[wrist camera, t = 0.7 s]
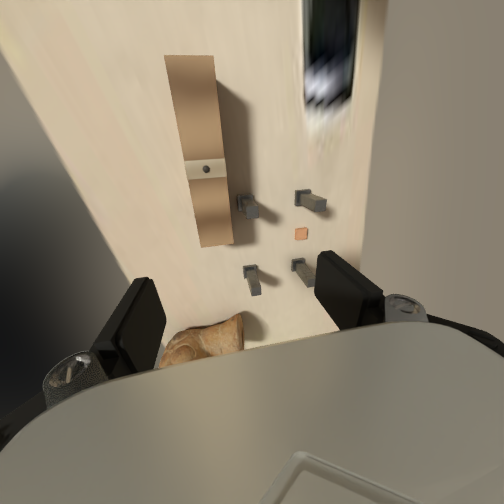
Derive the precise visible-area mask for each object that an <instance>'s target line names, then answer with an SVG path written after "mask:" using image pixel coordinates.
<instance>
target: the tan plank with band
mask: <svg viewBox="0 0 504 504" xmlns="http://www.w3.org/2000/svg"><path fill="white" fill-rule="evenodd" d="M164 59H165V64H166V69H167V74H168V79H169V84H170V90H171V95H172V100H173V105H174V110H175V115H176V121H177V126H178V131H179V136H180V141H181V146H182V151H183V157H184V164H185V170H186V175H187V180H188V182H189V188H190V193H191V198H192V203H193V208H194V213H195V219H196V224H197V229H198V234H199V239H200V244H201V248H202V247H210V246H218V245H226V244H234V241H233V232H232V222H231V213H230V204H229V195H228V186H227V172H226V163H225V158H224V149H223V140H222V131H221V121H220V112H219V103H218V94H217V85H216V75H215V66H214V57H213V56H192V55H164Z"/></svg>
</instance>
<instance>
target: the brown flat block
mask: <svg viewBox="0 0 504 504" xmlns="http://www.w3.org/2000/svg"><path fill="white" fill-rule="evenodd" d="M302 239H307V228H297V229H295V240H302Z"/></svg>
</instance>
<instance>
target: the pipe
mask: <svg viewBox="0 0 504 504" xmlns="http://www.w3.org/2000/svg"><path fill="white" fill-rule="evenodd" d="M241 350H244V329H243V323H242V318H241V315H240V314H236V315H234V316H233V317H231V318H230V319H229V320H227V321H225V322H224V323H222V324H217V325H213V326H210V327H207V328H205V329H189V330H185V331H180V332H178V333H177V334H175V336H174V337H173V338H172V339H171V340H170V341H169V343H168V344H167V346H166V348H165V351H164V354H163V356H162V358H161V361H160V364H159V368H161V367H165V366H170V365H174V364H179V363H184V362H188V361H193V360H198V359H203V358H207V357H212V356H217V355H222V354H226V353H231V352H236V351H241Z"/></svg>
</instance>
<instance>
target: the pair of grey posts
mask: <svg viewBox="0 0 504 504" xmlns="http://www.w3.org/2000/svg"><path fill="white" fill-rule="evenodd" d="M304 263H305V259H304V258H300V259H292V266H291V270H292V272H293V271H296V273H297V274H298V275H299V277H300V278H301V279H302V281H303V282H304V284H305V285H306V286H307V288H308V287H314V286H315V278H316V276H315V275H314V274H313V273H312V272H311V271H310V269H309V268H308V267H307V266H306V265H305V264H304ZM243 273H244V279H245V278H247V281H248V285H249V288H250V292H251V295H252V296H257V295H261V285H260V283H259V280H258V277H257V274H256V264H255V265H248V266H243Z"/></svg>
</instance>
